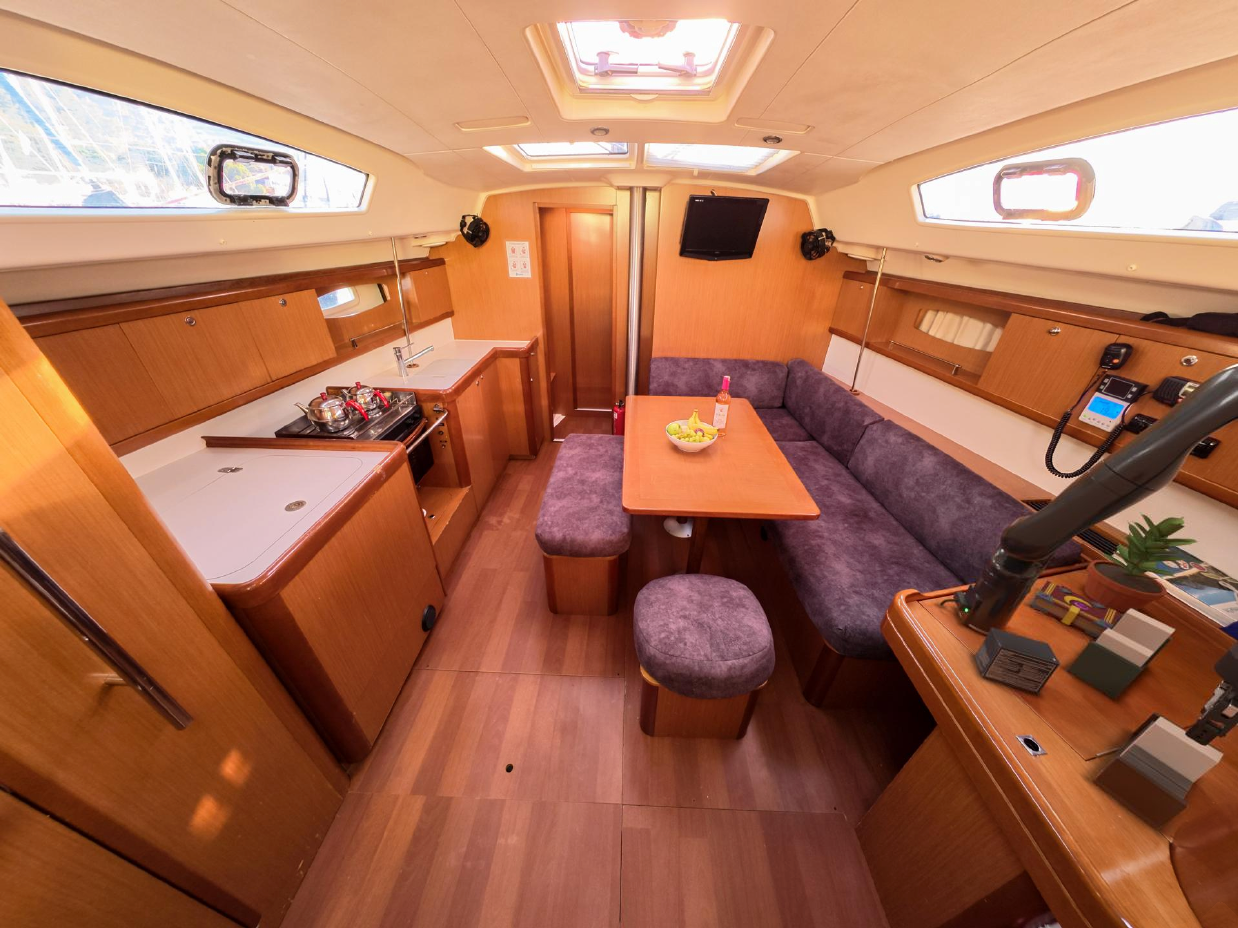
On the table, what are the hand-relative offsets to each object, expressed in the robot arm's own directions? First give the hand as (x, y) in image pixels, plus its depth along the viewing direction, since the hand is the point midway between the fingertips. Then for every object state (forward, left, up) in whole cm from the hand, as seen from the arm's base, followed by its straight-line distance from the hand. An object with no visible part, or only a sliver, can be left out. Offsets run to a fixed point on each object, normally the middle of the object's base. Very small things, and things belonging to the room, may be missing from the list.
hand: (1202, 728), depth 68 cm
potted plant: (+22, +61, -16) cm, 67 cm away
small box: (-16, +16, -16) cm, 28 cm away
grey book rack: (0, 0, -16) cm, 16 cm away
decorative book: (+9, +47, -16) cm, 51 cm away
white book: (0, 0, -15) cm, 15 cm away
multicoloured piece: (+8, +29, -16) cm, 34 cm away
